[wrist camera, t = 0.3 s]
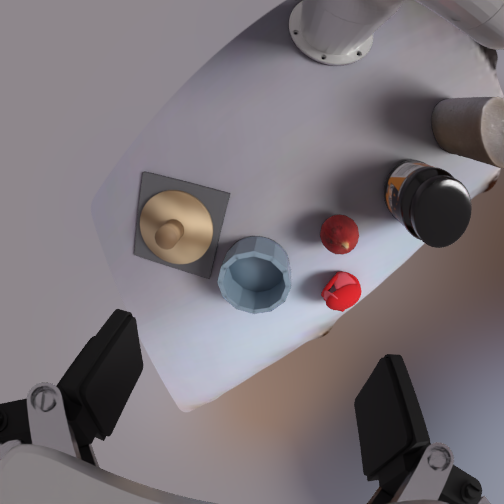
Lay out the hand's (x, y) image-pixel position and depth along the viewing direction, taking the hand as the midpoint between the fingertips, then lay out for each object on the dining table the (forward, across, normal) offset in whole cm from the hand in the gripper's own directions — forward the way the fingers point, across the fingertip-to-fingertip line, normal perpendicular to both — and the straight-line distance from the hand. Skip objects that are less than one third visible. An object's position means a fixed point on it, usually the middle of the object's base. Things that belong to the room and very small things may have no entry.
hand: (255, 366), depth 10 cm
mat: (+36, +15, +10) cm, 40 cm away
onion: (+36, -10, +5) cm, 38 cm away
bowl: (+36, +1, +15) cm, 39 cm away
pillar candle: (+35, -28, -17) cm, 48 cm away
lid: (+35, +15, +10) cm, 40 cm away
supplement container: (+36, -22, -3) cm, 42 cm away
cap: (+36, -14, +16) cm, 42 cm away
